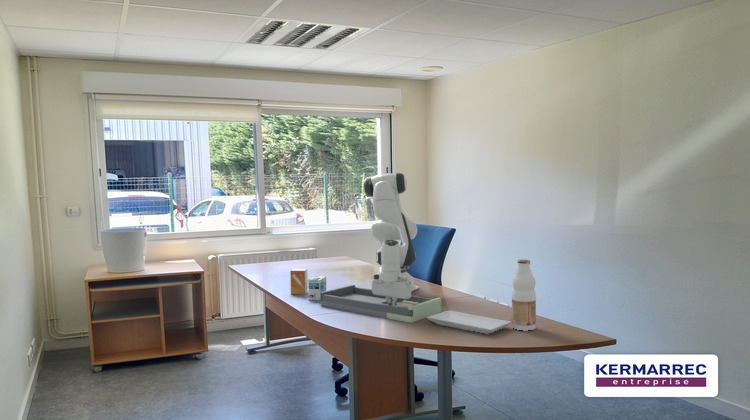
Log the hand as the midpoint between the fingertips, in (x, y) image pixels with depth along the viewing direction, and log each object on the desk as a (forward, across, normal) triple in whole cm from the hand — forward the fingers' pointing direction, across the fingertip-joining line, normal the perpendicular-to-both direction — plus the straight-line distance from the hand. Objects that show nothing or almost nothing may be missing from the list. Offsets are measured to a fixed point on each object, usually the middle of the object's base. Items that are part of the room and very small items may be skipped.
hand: (391, 306), depth 254 cm
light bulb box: (+4, +51, -4) cm, 51 cm away
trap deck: (+4, +11, -5) cm, 12 cm away
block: (+1, -10, +1) cm, 10 cm away
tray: (+4, -38, -2) cm, 38 cm away
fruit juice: (+4, -58, -12) cm, 59 cm away
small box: (+4, +68, -7) cm, 68 cm away
